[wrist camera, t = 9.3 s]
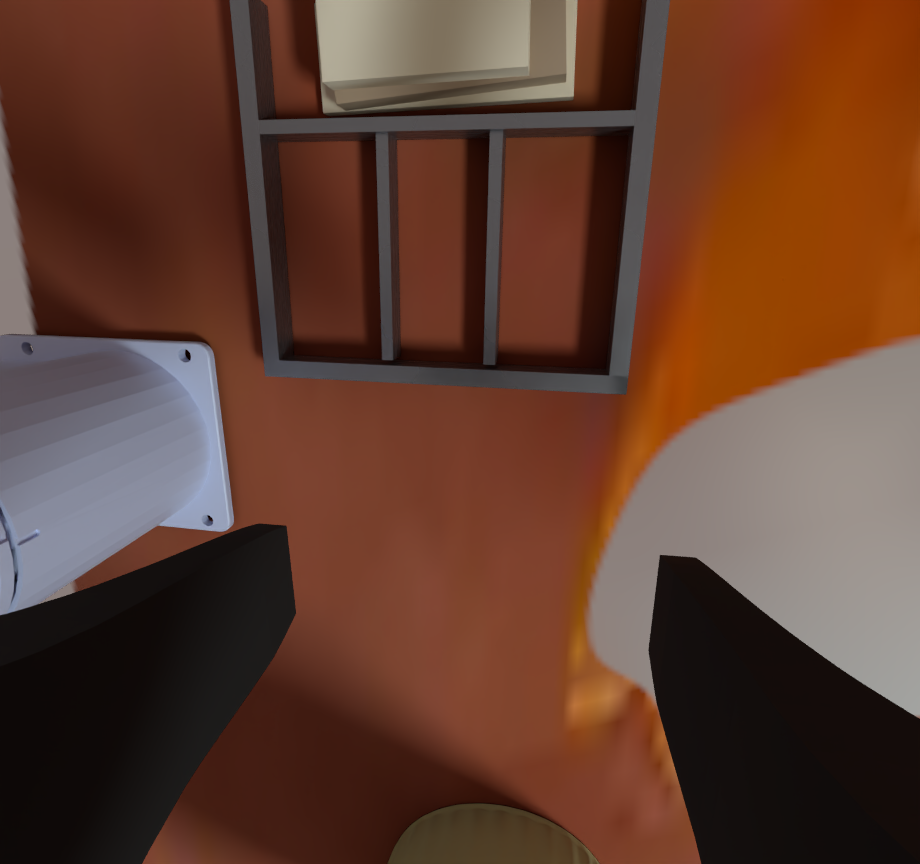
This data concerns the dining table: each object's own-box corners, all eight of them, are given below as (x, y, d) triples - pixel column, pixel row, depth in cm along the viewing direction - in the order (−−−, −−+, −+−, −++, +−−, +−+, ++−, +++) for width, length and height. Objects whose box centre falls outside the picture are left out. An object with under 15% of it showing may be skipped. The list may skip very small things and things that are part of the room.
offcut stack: (332, 119, 18) (301, 99, 16) (324, 14, 17) (290, -22, 15) (572, 103, 17) (575, 79, 15) (577, -11, 16) (580, -55, 14)
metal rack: (280, 370, 21) (265, 376, 20) (249, 7, 17) (228, -11, 16) (621, 386, 19) (626, 394, 18) (665, -19, 15) (674, -41, 14)
